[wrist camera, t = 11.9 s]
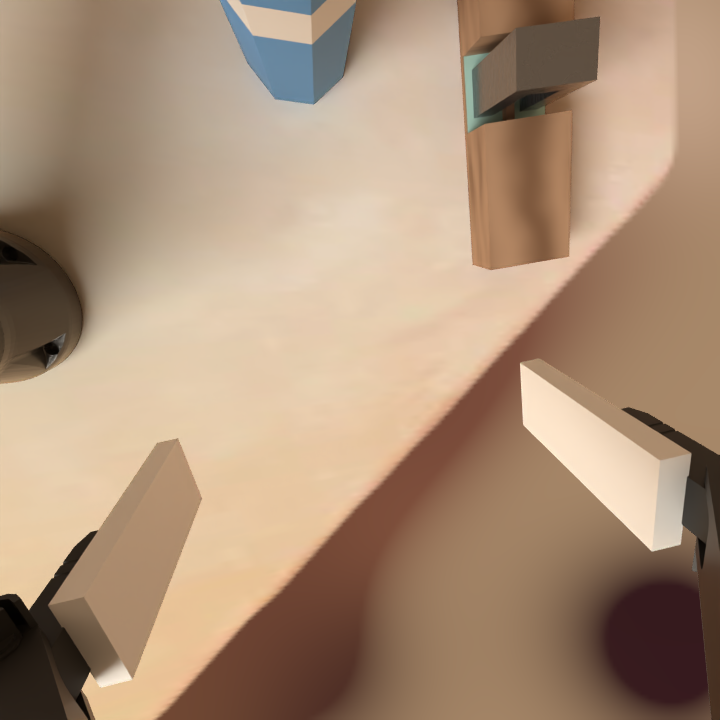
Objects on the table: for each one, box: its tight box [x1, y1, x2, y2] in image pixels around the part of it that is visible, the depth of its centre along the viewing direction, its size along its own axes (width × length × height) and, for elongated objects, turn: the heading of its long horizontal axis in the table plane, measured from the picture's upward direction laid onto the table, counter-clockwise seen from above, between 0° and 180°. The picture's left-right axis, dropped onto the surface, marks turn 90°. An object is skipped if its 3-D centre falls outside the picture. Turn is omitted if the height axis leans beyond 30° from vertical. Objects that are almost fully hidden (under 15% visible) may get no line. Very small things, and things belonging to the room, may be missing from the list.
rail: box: [457, 0, 574, 270], centre depth 38 cm, size 8×28×5 cm, turn 9°
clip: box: [472, 17, 600, 118], centre depth 35 cm, size 6×4×9 cm, turn 98°
